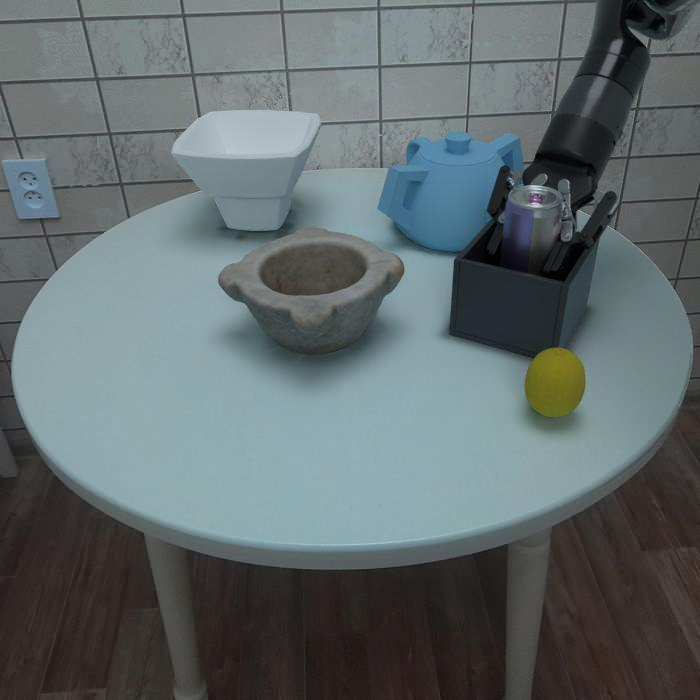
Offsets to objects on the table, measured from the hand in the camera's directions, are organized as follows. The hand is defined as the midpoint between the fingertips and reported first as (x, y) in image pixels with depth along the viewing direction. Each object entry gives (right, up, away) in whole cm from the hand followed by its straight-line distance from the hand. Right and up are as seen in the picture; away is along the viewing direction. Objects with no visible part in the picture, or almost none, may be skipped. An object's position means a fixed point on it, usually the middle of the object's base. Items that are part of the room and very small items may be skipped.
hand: (520, 267), depth 79 cm
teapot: (-3, +8, +26) cm, 27 cm away
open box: (+1, -6, +6) cm, 8 cm away
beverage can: (+1, -5, +5) cm, 8 cm away
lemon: (+1, -16, -8) cm, 18 cm away
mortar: (-23, -7, +5) cm, 24 cm away
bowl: (-32, +10, +29) cm, 45 cm away
